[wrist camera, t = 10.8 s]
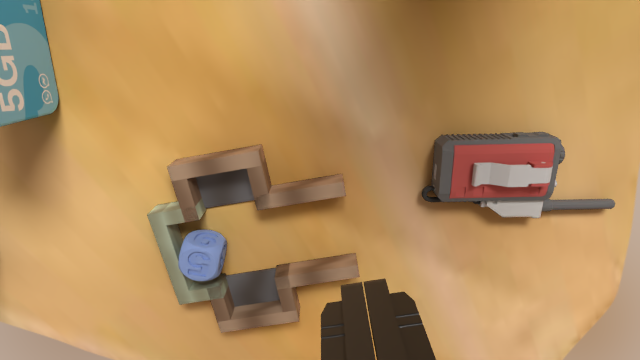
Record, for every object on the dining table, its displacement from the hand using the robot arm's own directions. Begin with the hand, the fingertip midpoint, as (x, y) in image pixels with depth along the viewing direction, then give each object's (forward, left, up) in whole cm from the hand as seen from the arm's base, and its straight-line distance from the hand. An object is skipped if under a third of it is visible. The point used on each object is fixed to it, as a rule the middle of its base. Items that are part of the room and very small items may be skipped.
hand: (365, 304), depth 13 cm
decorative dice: (+16, +10, -27) cm, 33 cm away
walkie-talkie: (-18, +8, -28) cm, 34 cm away
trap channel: (+10, +10, -27) cm, 30 cm away
